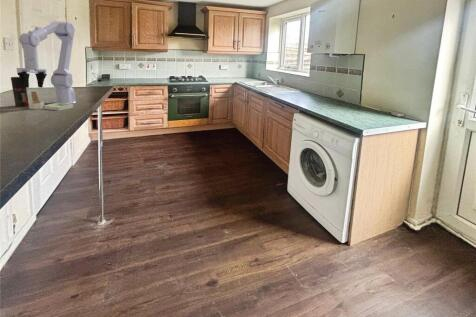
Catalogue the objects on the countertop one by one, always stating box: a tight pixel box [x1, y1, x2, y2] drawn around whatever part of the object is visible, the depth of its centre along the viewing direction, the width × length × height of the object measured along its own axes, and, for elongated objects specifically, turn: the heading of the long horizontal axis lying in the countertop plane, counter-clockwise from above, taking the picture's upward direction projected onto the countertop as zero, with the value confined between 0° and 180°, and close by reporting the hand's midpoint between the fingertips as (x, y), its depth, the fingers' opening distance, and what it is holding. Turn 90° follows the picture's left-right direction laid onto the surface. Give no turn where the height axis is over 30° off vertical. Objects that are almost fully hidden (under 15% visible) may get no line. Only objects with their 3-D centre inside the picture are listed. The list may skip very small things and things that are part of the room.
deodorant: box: [10, 76, 30, 108], centre depth 168 cm, size 6×6×15 cm
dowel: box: [31, 91, 41, 104], centre depth 165 cm, size 3×3×8 cm
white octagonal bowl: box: [28, 101, 45, 110], centre depth 166 cm, size 7×7×3 cm
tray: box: [42, 103, 75, 111], centre depth 169 cm, size 11×9×2 cm
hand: (33, 87), depth 163 cm, fingers open, 7 cm apart
